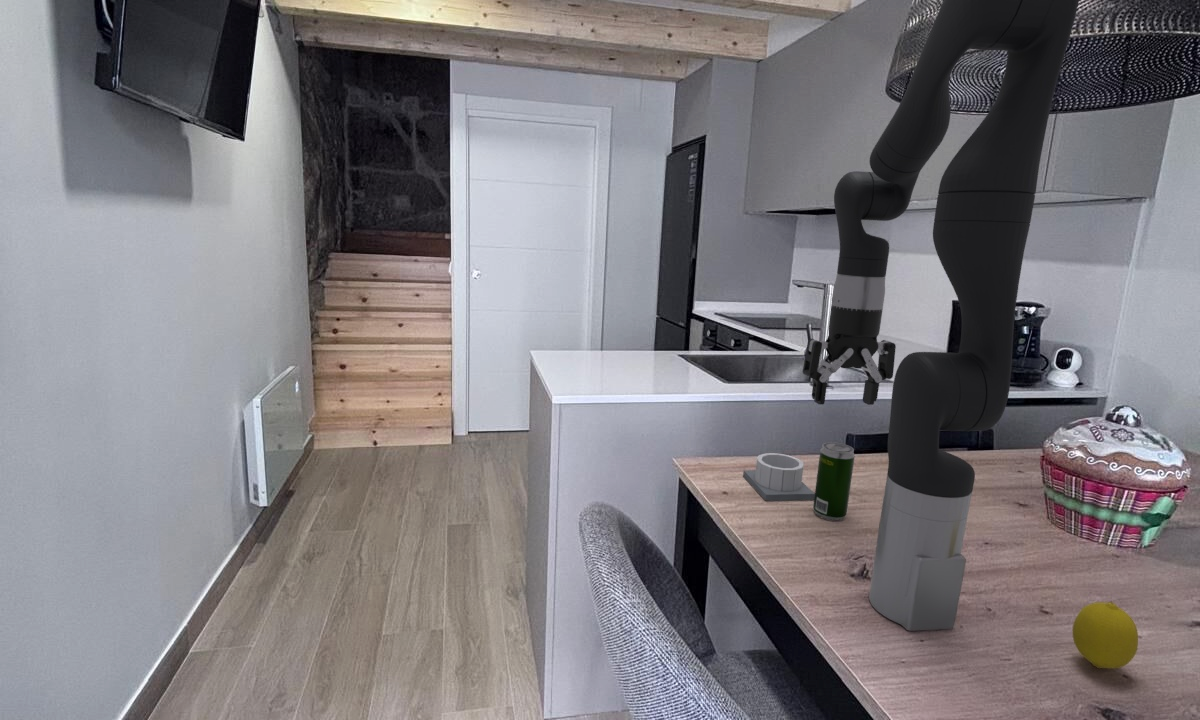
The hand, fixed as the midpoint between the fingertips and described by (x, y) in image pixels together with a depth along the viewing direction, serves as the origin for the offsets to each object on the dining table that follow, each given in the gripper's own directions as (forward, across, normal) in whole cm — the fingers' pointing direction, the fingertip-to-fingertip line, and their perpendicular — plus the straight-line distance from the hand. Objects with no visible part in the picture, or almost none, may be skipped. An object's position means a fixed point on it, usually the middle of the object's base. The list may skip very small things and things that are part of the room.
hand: (843, 403), depth 100 cm
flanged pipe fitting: (+20, -4, +11) cm, 23 cm away
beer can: (+20, 0, 0) cm, 20 cm away
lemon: (+20, +12, -38) cm, 44 cm away
